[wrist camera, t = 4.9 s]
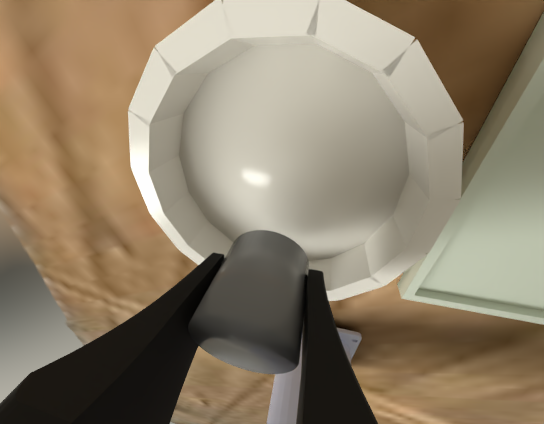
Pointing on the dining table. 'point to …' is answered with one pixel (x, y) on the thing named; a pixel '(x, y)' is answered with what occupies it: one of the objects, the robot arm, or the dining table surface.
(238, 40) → the bowl
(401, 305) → the dining table surface
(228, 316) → the grey short cylinder
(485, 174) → the parts tray
